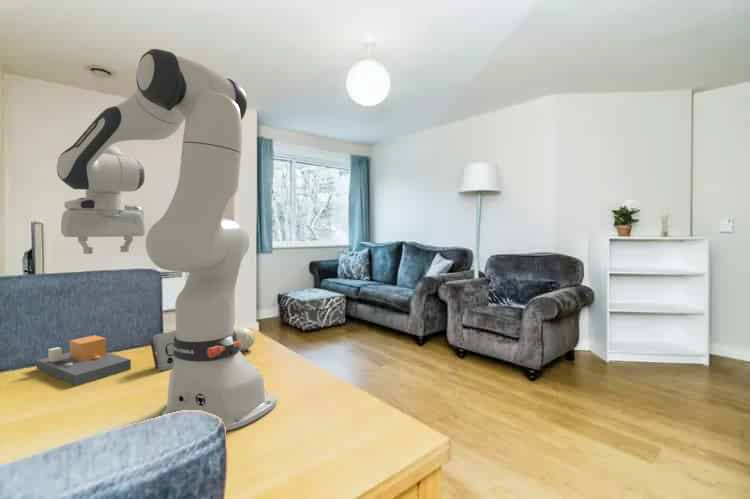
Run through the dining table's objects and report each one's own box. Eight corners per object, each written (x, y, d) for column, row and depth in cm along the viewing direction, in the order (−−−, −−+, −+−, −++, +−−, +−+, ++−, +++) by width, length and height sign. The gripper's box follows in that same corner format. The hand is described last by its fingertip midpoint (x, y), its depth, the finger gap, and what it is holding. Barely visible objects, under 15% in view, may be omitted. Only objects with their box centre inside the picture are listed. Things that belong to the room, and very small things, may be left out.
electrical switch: (160, 372, 94) (158, 336, 94) (148, 370, 97) (146, 335, 97) (194, 361, 102) (191, 327, 102) (182, 359, 105) (180, 327, 105)
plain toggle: (62, 359, 95) (61, 348, 95) (52, 362, 93) (51, 350, 93) (58, 358, 96) (57, 347, 96) (48, 360, 94) (48, 349, 94)
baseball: (249, 354, 108) (248, 332, 108) (225, 353, 109) (225, 330, 109) (259, 347, 115) (259, 326, 114) (236, 346, 116) (236, 325, 115)
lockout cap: (106, 354, 99) (106, 338, 99) (81, 361, 94) (80, 344, 94) (95, 351, 102) (94, 335, 102) (70, 357, 97) (69, 340, 97)
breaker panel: (130, 369, 96) (130, 357, 96) (75, 386, 86) (75, 372, 85) (90, 355, 106) (90, 345, 105) (36, 369, 95) (36, 357, 95)
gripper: (137, 206, 116) (138, 250, 117) (57, 202, 98) (58, 254, 99) (149, 206, 113) (150, 251, 114) (68, 201, 95) (70, 255, 96)
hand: (107, 252), depth 107 cm, fingers open, 8 cm apart
